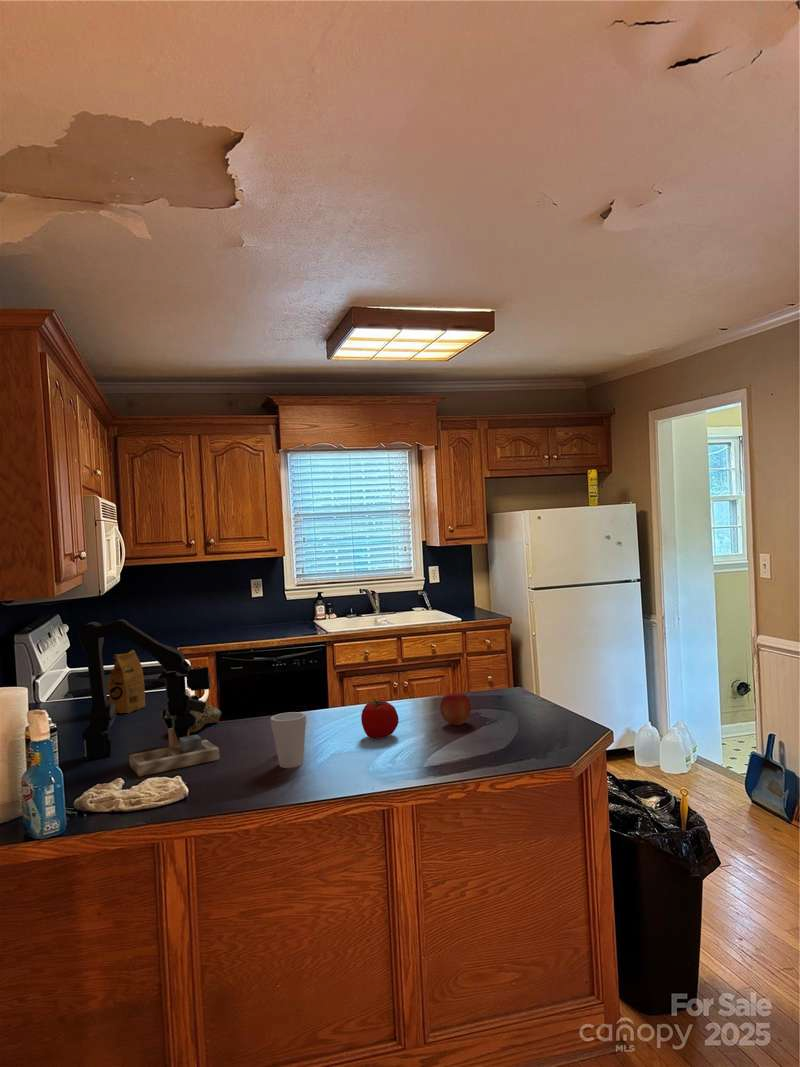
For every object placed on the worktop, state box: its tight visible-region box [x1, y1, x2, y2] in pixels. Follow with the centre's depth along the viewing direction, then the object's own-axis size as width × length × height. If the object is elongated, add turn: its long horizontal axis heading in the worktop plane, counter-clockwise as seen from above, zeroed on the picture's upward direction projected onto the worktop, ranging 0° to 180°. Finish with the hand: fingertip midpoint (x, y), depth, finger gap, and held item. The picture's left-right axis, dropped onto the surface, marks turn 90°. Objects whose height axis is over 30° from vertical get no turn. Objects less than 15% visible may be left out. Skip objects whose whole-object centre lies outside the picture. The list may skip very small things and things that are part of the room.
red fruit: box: [360, 698, 399, 739], centre depth 226 cm, size 12×12×11 cm
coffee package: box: [107, 649, 146, 715], centre depth 286 cm, size 10×12×22 cm
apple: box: [439, 691, 472, 726], centre depth 236 cm, size 10×10×10 cm
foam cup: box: [270, 711, 307, 769], centre depth 205 cm, size 10×9×13 cm
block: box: [167, 728, 190, 747], centre depth 229 cm, size 5×5×6 cm
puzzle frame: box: [128, 734, 221, 777], centre depth 214 cm, size 22×12×6 cm, turn 121°
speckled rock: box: [189, 704, 222, 734], centre depth 252 cm, size 13×8×20 cm
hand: (179, 743), depth 229 cm, fingers open, 8 cm apart
